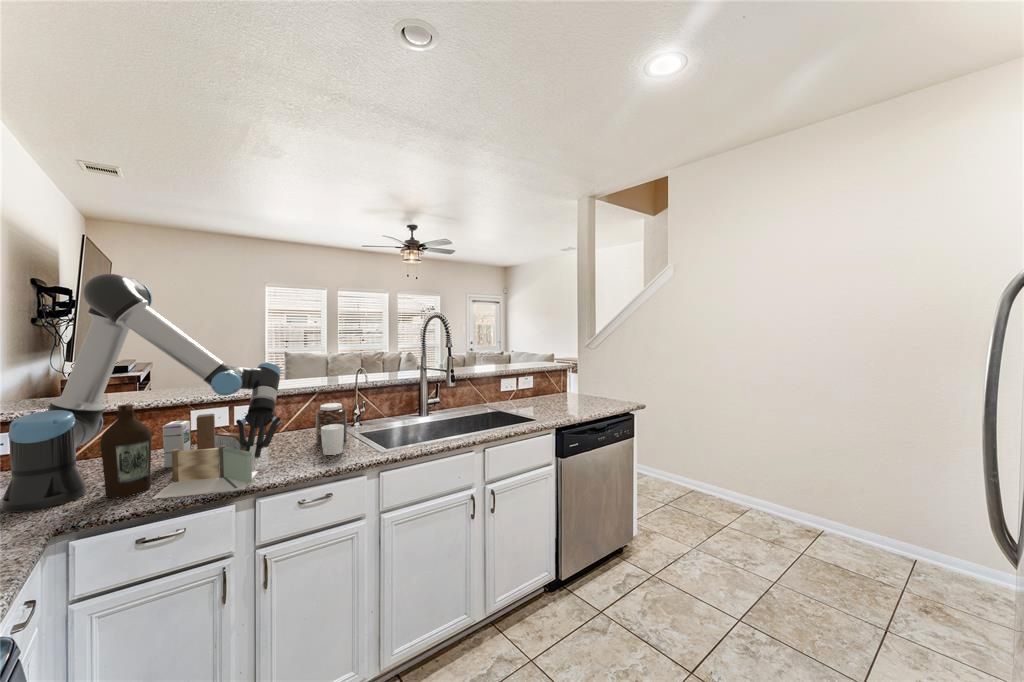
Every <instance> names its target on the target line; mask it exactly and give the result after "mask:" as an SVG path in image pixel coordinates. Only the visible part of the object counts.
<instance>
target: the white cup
mask: <svg viewBox="0 0 1024 682" xmlns="http://www.w3.org/2000/svg"><path fill="white" fill-rule="evenodd" d="M321 439H322V445H321V447H322V455H323V454H324V455H323V456H325V455H334V456H337V455H336V454H339V455H341V454H342V453H344V442H343V440H344V425H341V424H331V425H326V426H323V427H321ZM340 453H341V454H340Z"/></svg>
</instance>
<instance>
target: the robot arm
mask: <svg viewBox="0 0 1024 682" xmlns="http://www.w3.org/2000/svg"><path fill="white" fill-rule="evenodd" d="M82 294H83V298H84V300H85V302H86V303H87V305H88V306H90V307H89V309H88V312H87V314H88V316H90V318H91V320H92V321H91V324H90V325H89V328H88V331H87V333H86V335H85V338H84V339H83V342H82V345H81V348H80V350H79V352H78V355H77V357H76V359H75V362H74V364H73V367H72V369H71V372H70V374H69V376H68V377H67V378H68V379H67V381H66V383H65V387H64V389H63V391H62V393H61V395H60V396H59V397H57V398H54V399H52V400H51V401H50V404H49V406H48V408H47V410H45V411H38V412H33V413H30V414H25V415H22V416H19V417H17V418H15V419H14V420H12V421H11V423H10V424H9V428H8V429H9V431H8V434H7V436H8V440H9V455H10V456H9V457H10V458H9V459H10V470H11V471H10V472H11V473H10V474H11V478H10V481H9V483H8V486H7V488H6V491H5V493H4V495H3V498H2V500H1V507H2V508H1V511H3V512H7V513H8V512H9V513H18V512H19V513H22V512H29V511H35V510H41V509H45V508H50V507H54V506H59V505H61V504H65V503H68V502H71V501H74V500H77V499H78V498H80V497H83V495H84V496H85V494H86V493H87V483H86V481H85V479H84V477H83V475H82V474H81V473H80V470H79V468H78V467H77V455H76V454H77V452H76V449H77V448H79V447H81V446H82V445H85V444H88V443H89V442H90V441H92V440H93V439H94V438H95V437H96V436H97V435H98V434H99V433H100V432H101V431H102V428H103V426H104V418H103V414H104V411H105V409H106V406H105V404H103V403H102V399H103V396H104V393H105V391H106V389H107V386H108V384H109V382H110V379H111V376H112V373H113V372H114V368H115V366H116V364H117V361H118V359H119V356H120V354H121V351H122V349H123V346H124V344H125V342H126V339H127V336H128V334H129V332H130V330H131V331H133V332H134V333H135V334H137V335H139V336H140V337H141V338H142V339H144V340H146V342H148V343H150V344H151V345H152V346H154V347H156V348H157V349H158V350H160V351H161V352H162V353H164V354H165V355H166V356H168V357H169V358H171V359H173V360H174V361H175V362H176V363H178V364H179V365H181V366H182V367H184V368H186V369H187V370H188V371H189V372H191V374H193V375H195V376H196V377H198V378H199V379H201V380H202V381H203V382H205V384H207V385H209V386H210V387H211V389H212V391H213V392H214V393H216V394H217V395H219V396H226V397H227V396H231V395H233V394H236V393H238V391H240V390H252V391H251V396H250V399H249V400H250V402H249V406H248V409H247V410H248V411H247V414H246V415H245V417H244V418H242V419H236V421H235V422H236V426H238V433H239V434H240V444H241V446H242V448H243V449H246V451H248V452H251V463H252V470H255V467H256V461H257V459H259V458H260V457H261V454H262V449H263V448H268V447H269V446H270V445H271V441H272V440H273V437H274V435H275V433H276V430H277V429H278V427H279V426H280V425H281V424H282V419H281V417H279V416H276V415H275V409H276V402H277V396H278V390H279V384H280V380H281V368H280V366H279V365H277V364H276V363H273V362H269V361H268V362H262V363H260V364H259V365H258V366H257V367H253V368H252V367H242V366H233V365H228V364H226V363H225V362H224V361H222V360H221V359H220V358H218V357H217V356H216V355H214V354H213V353H211V352H210V351H209V350H208V349H206V348H205V347H204V346H202V345H201V344H199V343H198V342H197V341H195V340H194V339H193V338H191V337H190V336H188V334H186V333H184V331H182V330H181V329H180V328H178V327H177V326H175V325H174V324H172V323H171V322H170V321H169V320H168V319H166V318H164V317H163V316H161V314H159V313H158V312H156V311H155V310H154V309H153V308H151V305H152V302H153V296H152V292H151V290H150V289H149V288H148V287H147V286H146V285H145V284H144V283H142V282H141V281H140V280H137V279H134V278H133V277H127V276H124V275H119V274H115V273H104V274H98V275H96V276H94V277H92V278H91V279H89V280H88V281H87V282H86V283H85V285H84V286H83V292H82ZM246 424H248V426H250V428H249V432H248V435H247V436H248V437H246V428H245V426H246ZM269 424H271V425H270V426H269ZM267 426H269V429H268V431H267V432H266V429H267ZM257 431H258V434H257ZM265 433H266V434H265ZM256 434H257V438H256ZM255 439H256V442H255ZM246 440H247V443H246ZM254 443H255V445H254Z"/></svg>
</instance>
